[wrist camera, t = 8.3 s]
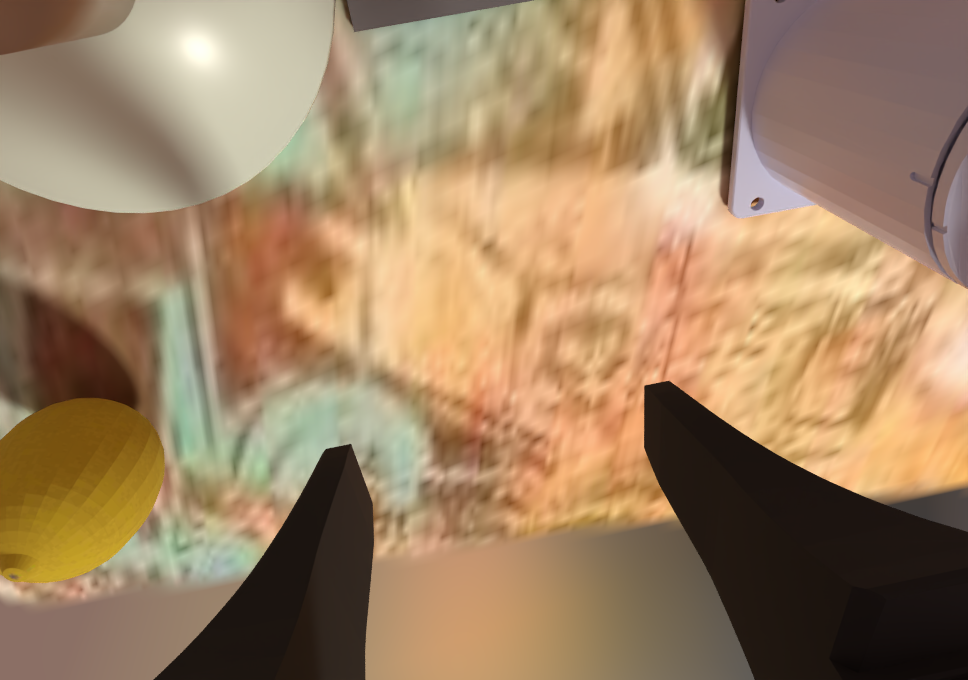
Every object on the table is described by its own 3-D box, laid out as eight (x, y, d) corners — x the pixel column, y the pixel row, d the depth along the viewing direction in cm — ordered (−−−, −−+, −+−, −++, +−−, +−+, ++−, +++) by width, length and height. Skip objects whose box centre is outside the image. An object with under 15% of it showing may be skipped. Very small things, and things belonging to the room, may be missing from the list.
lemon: (17, 376, 23) (-141, 539, 17) (152, 346, 23) (48, 498, 17) (92, 472, 26) (-15, 643, 20) (212, 446, 26) (145, 608, 20)
